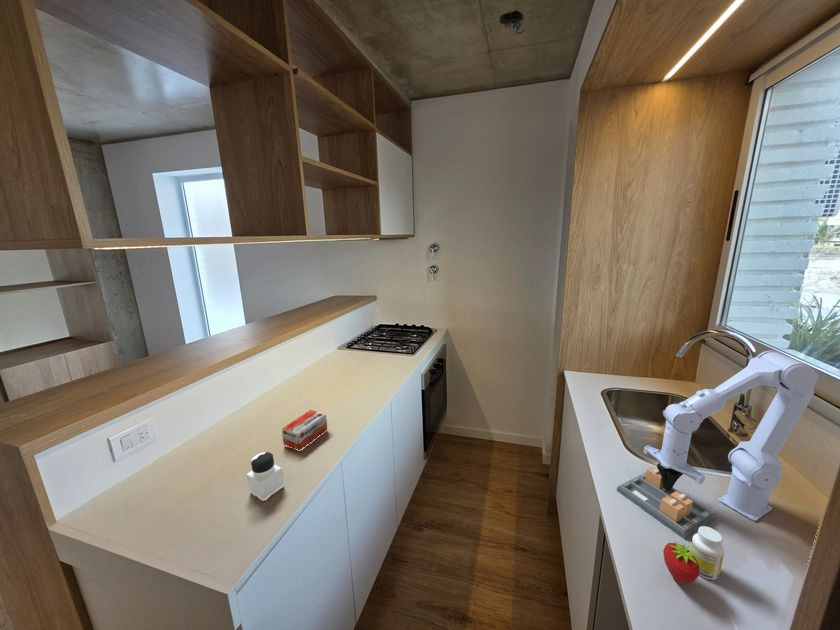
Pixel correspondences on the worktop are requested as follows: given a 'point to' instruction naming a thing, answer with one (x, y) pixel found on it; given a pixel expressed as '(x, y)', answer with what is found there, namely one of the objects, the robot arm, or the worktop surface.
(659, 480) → the cardboard box
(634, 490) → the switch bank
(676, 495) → the tan box with strip
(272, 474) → the medicine bottle
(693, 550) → the supplement bottle
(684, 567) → the strawberry
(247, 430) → the worktop surface
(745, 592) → the worktop surface
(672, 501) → the orange box
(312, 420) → the medicine box
